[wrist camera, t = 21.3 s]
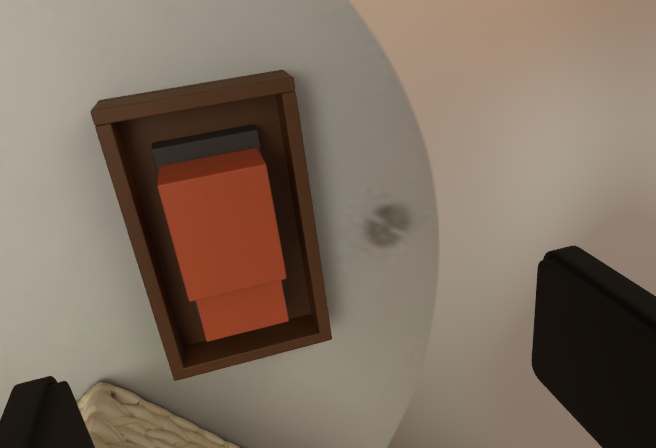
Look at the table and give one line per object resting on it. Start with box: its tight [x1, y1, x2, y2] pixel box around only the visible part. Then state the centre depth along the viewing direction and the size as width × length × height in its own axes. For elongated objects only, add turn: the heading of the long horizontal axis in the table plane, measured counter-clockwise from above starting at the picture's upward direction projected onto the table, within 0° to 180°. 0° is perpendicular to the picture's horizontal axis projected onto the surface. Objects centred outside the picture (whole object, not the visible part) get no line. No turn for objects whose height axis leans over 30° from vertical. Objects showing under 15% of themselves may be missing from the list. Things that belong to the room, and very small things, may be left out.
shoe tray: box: [91, 70, 332, 381], centre depth 33 cm, size 18×11×3 cm, turn 7°
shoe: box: [151, 125, 289, 342], centre depth 32 cm, size 12×6×5 cm, turn 7°
